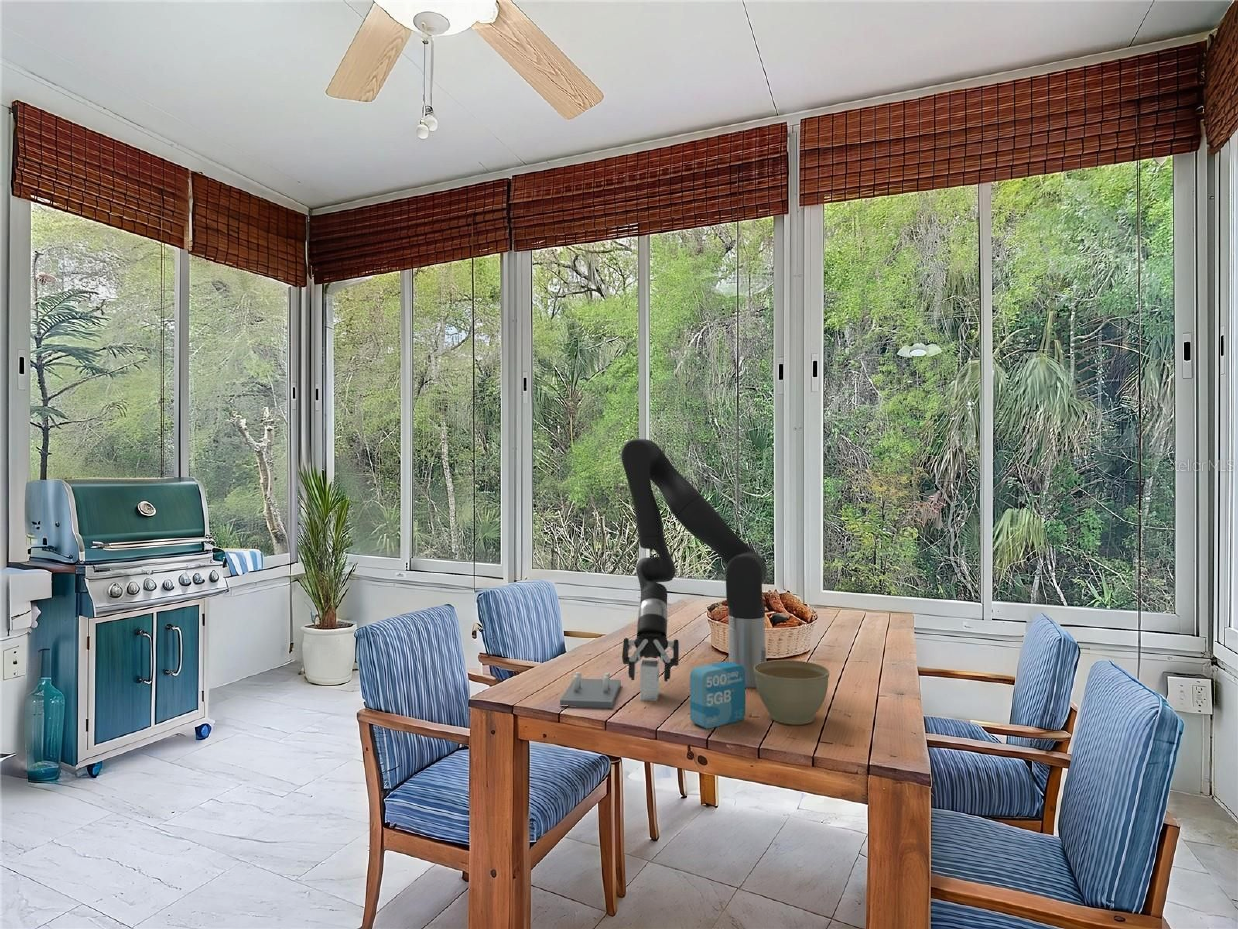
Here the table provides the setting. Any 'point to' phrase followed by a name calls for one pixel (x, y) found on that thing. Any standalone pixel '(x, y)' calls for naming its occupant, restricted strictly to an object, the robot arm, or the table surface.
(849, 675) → the table surface
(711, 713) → the data package
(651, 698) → the block
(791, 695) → the planter bowl
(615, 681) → the drive dock
